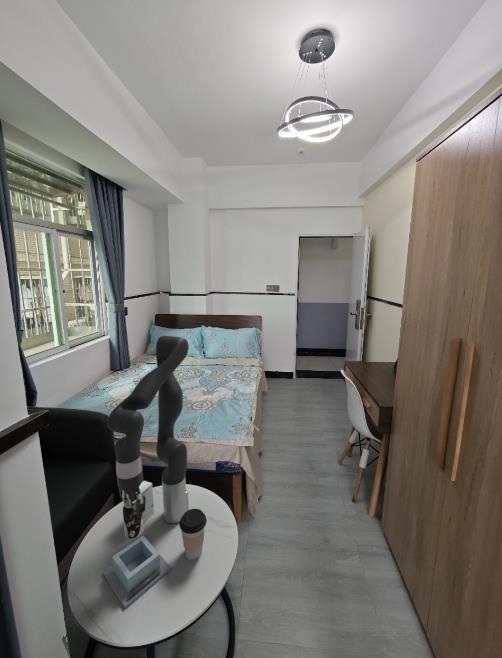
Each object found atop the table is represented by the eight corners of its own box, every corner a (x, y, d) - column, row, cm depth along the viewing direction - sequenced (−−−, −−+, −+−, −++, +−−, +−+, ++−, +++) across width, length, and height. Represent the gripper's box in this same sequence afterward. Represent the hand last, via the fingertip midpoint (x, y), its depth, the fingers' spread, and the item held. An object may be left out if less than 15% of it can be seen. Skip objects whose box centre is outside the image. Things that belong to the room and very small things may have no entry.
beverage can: (124, 543, 92) (121, 510, 90) (125, 528, 98) (123, 497, 95) (143, 538, 94) (141, 506, 92) (143, 524, 99) (141, 493, 97)
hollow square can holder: (146, 541, 109) (145, 526, 108) (171, 569, 99) (170, 553, 98) (102, 573, 98) (101, 557, 97) (125, 609, 87) (123, 591, 86)
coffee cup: (175, 554, 105) (173, 518, 102) (196, 536, 112) (194, 502, 109) (192, 571, 99) (190, 533, 96) (212, 551, 106) (212, 516, 103)
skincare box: (140, 529, 115) (137, 496, 112) (128, 524, 117) (126, 492, 114) (154, 514, 122) (153, 482, 120) (143, 509, 125) (141, 478, 122)
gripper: (152, 474, 90) (155, 521, 93) (130, 455, 99) (133, 498, 102) (128, 487, 84) (132, 536, 87) (107, 465, 94) (111, 511, 97)
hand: (133, 516), depth 95 cm, fingers closed on beverage can, 5 cm apart
